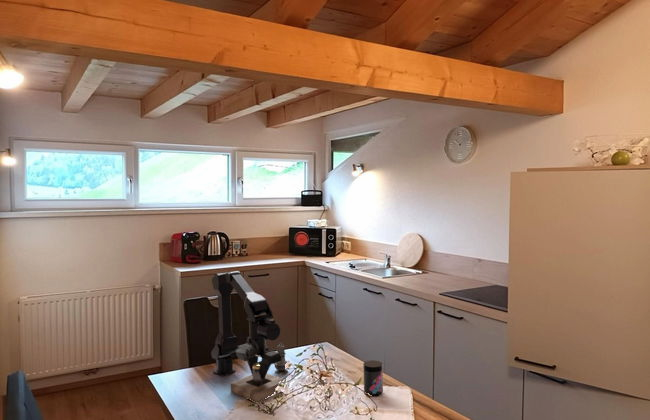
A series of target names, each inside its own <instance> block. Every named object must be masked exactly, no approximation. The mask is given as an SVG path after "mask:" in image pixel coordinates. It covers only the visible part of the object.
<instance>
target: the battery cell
mask: <svg viewBox="0 0 650 420" xmlns="http://www.w3.org/2000/svg"><path fill="white" fill-rule="evenodd" d="M252 369H253V385H254V386H256V387H259V386H261V385H264V379H262V378H261V368H260V365H259V364H258V363H255V364H253V365H252Z"/></svg>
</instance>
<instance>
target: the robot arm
mask: <svg viewBox="0 0 650 420" xmlns="http://www.w3.org/2000/svg"><path fill="white" fill-rule="evenodd" d="M211 284H212V289H213V291H214V293H215V294H216V295H217V305H218V306H217V307H218V328H219V329H218V330H219V331H218V334H217V336H216V338H215V341H214V342H215V344H214V347H213V348H212V350H211V351H210V352H211V353H210V354H211V358H212V359H213V360H215V361H216V362H215V364H216V365H215V366H216V369H215V370H213V371H212V372H213V373H215V374H217V375H220V376H223V377H224V376H227V375H229V374H232V373H234V372H236V371H237V370H236V369H235V368H234V367H233V365H234V362H233V357H235V356H237V358H238V360H241V361H243V362H246V363H247V365H248V367H249V370H250V373H251V375H252V376H253V369H252V365H253V364H255V363H258V364H259V365H260V368H261V378H262V379H265V376H266V374H268V372H269V370H270V367H271V366H272V365H274V363H277V362H279V361H281V354H280V353H278V352H277V351H275V350H272V351H269V347H268V346H267V340H270V341H275V340H277V339H279V337H280V335H281V328H280V325H278V324H277V323H276V319H274V315H273V311H272V309H271V308H270V304H269V303H268V300H267V299H266V298H265V297H264V296H263V295H261V294H259V293H256V292H255V291H254V290H253V289H252V287H251V286H250V285H249V284H248V283H247V281H246V280H245V279H244V277H243V276H242V272H240V271H239V270H236V271H235V270H234V271H227V272H220V273H215V274H214V275H213V276H212V278H211ZM234 290H235V292H236V293H237V295H238V296H239V297H240V298H241V300H242V302H243V310H245V312H246V313H245V314H247V317H246V319H245V320H247V321H248V324H249V325H248V326H249V327H248V328H249V330H248V332H249V335H248V337H246V342H245V343H244V344H240V345H239V344H238V336H237V335H235V334H234V333H233V326H232V323H233V321H232V305H231V304H232V303H231V301H232V300H231V295H232V293H233V291H234ZM268 351H269V352H268ZM259 358H261V360H260V361H259Z"/></svg>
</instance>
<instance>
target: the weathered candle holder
mask: <svg viewBox="0 0 650 420" xmlns="http://www.w3.org/2000/svg"><path fill="white" fill-rule="evenodd" d="M285 347H286V346H285V344H282V342H279V344H278V345H277V346H276V352H278V353H280V354H281V361H279V362H277V363H274V364H273V365H274V368H275V369H276V370H274V374H275V375H280V376H281V375H282V376H283V375H286V374H288V373H289V371H288V370H287V368H286V369H285V364H286V363H287V362H288V361H287V360H286V352H285V351H286V350H285Z"/></svg>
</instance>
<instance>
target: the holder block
mask: <svg viewBox="0 0 650 420" xmlns="http://www.w3.org/2000/svg"><path fill="white" fill-rule="evenodd" d="M282 379H283V378H281V377H278V376H275V375H273V374H269V373H267V374H266V376H265V379H264V385H261V386H259V387H256V386H254V385H253V376H252V374H250V375H248V376H245V377H242V378H240V379H237V380H234V381H232V382H230V393H232V394H233V395H236V396H239V397H241V398H243V397H244V398H243V399H246V398H249V399H251V400H253V401H255V402H259V401H261V400H263V399H265V398H267V397H268V396H271V395H272V394H274V392H275V388H276V387H277V386H278V384H279V382H280V381H281V380H282ZM267 399H268V398H267ZM251 400H250V401H251ZM265 400H266V399H265ZM253 401H252V402H253ZM263 401H264V400H263ZM255 402H254V403H255ZM261 402H262V401H261ZM259 403H260V402H259Z"/></svg>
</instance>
